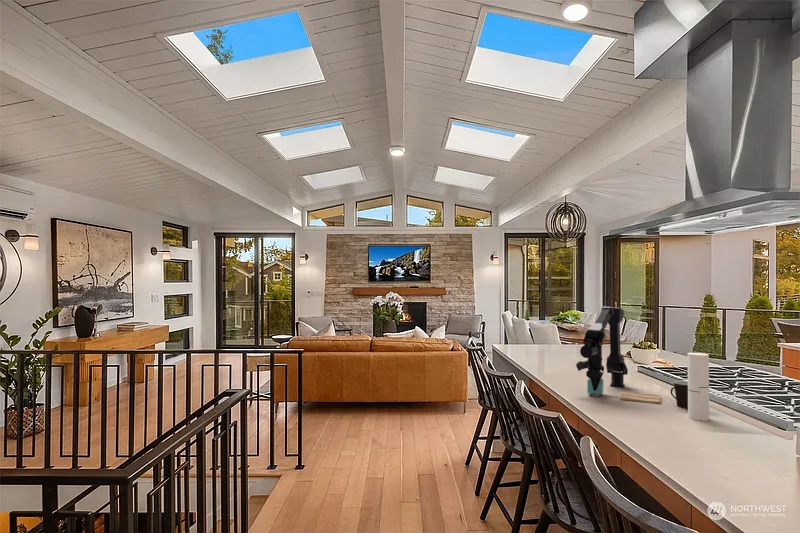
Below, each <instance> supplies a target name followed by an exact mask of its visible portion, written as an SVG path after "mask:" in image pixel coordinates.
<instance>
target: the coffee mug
mask: <svg viewBox="0 0 800 533" xmlns="http://www.w3.org/2000/svg"><path fill="white" fill-rule="evenodd" d="M673 391H674V393H673ZM670 394H671V396H672V397H673V398H674V399H675V401H676V407H677V406H678V407H677V408H680V407H681V408H680V409H686V408H687V410H688V380H687V381H685V380H676V381H673V387H671V389H670Z"/></svg>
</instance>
